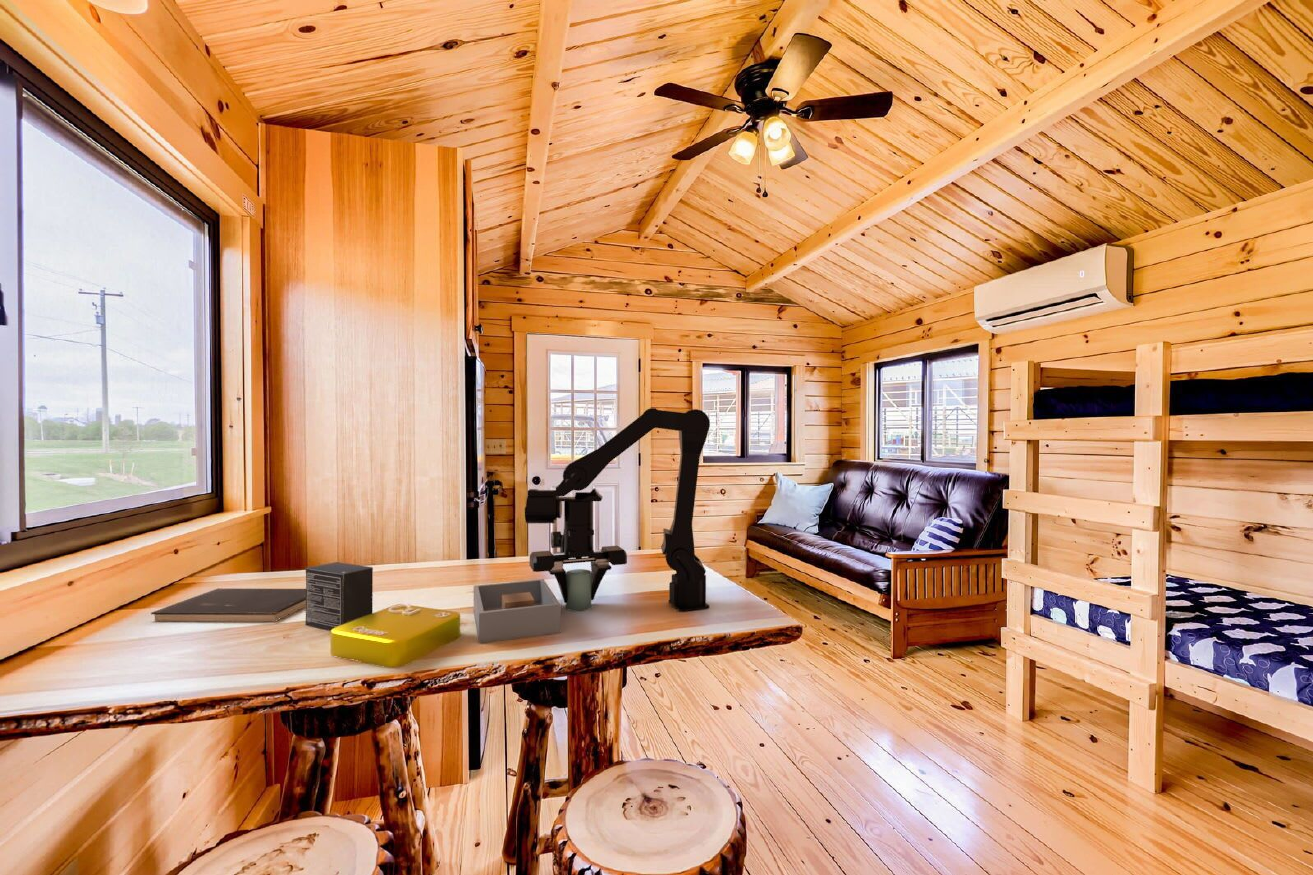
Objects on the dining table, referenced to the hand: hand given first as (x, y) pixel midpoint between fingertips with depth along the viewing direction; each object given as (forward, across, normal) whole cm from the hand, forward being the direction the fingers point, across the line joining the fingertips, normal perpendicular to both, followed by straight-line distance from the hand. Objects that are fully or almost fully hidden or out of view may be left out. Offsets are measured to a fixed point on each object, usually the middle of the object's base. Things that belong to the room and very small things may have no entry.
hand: (578, 600), depth 112 cm
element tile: (+2, +32, +8) cm, 33 cm away
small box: (+2, +43, -6) cm, 43 cm away
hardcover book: (+2, +62, -23) cm, 66 cm away
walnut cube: (+1, +13, +8) cm, 15 cm away
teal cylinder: (+1, 0, 0) cm, 1 cm away
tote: (+1, +13, +4) cm, 14 cm away
